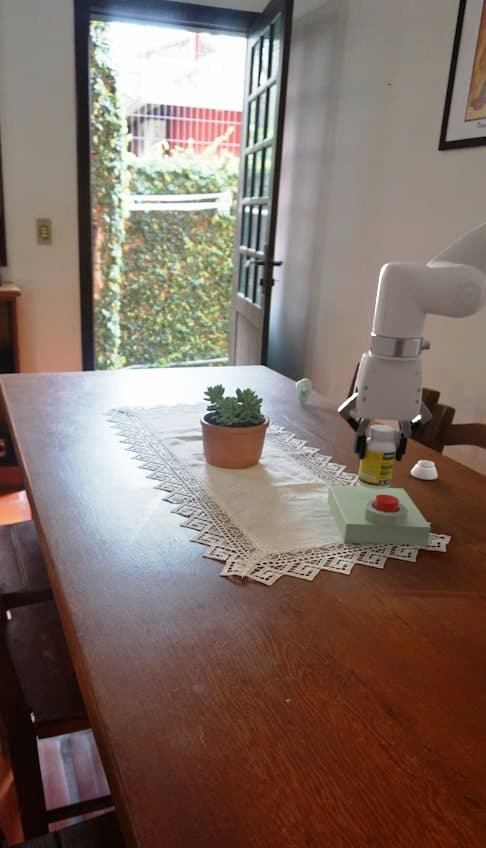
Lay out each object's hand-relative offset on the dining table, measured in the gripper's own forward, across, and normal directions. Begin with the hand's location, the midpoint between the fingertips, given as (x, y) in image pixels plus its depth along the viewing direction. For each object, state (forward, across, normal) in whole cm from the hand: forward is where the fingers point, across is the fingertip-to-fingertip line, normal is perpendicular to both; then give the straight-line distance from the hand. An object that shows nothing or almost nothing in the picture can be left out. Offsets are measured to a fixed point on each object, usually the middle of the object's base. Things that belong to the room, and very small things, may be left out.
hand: (378, 456), depth 112 cm
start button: (+6, 0, +8) cm, 10 cm away
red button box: (+10, 0, +4) cm, 11 cm away
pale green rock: (+10, +2, -72) cm, 73 cm away
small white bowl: (+10, -15, -20) cm, 27 cm away
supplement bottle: (+5, 0, 0) cm, 5 cm away
